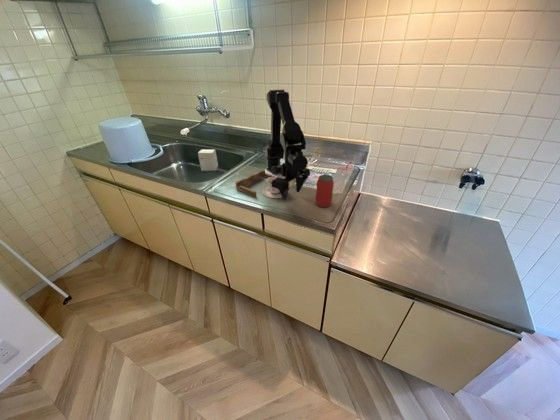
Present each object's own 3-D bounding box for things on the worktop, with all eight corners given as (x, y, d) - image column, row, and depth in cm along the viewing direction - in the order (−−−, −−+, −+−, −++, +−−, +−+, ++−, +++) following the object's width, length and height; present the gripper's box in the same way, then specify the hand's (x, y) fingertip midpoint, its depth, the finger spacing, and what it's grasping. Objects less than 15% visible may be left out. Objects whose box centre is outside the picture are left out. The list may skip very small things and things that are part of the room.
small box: (218, 167, 137) (215, 149, 131) (215, 171, 132) (212, 152, 127) (204, 167, 138) (201, 149, 132) (201, 171, 133) (197, 152, 127)
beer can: (313, 200, 105) (315, 174, 98) (328, 199, 105) (331, 173, 99) (317, 208, 99) (319, 181, 93) (333, 207, 100) (336, 180, 93)
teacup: (258, 196, 109) (257, 183, 105) (269, 184, 118) (268, 173, 115) (283, 200, 105) (283, 188, 102) (292, 188, 115) (292, 176, 111)
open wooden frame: (263, 176, 126) (263, 169, 124) (281, 183, 119) (281, 175, 117) (236, 189, 114) (235, 181, 112) (254, 197, 107) (253, 189, 105)
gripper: (290, 150, 106) (290, 183, 115) (260, 163, 94) (262, 198, 103) (311, 156, 100) (309, 190, 109) (282, 170, 88) (282, 207, 97)
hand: (291, 195), depth 104 cm, fingers open, 9 cm apart
